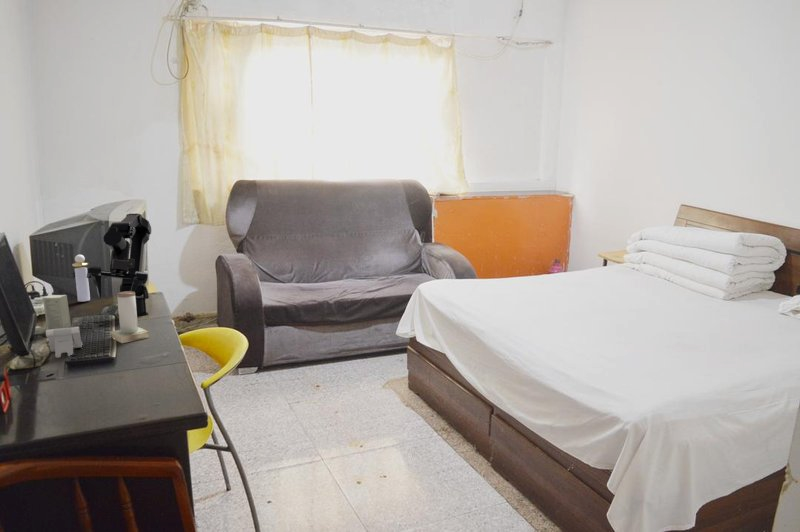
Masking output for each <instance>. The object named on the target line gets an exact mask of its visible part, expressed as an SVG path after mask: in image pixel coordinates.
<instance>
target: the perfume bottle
mask: <svg viewBox="0 0 800 532" xmlns="http://www.w3.org/2000/svg"><path fill="white" fill-rule="evenodd" d="M85 260H86V257H85V256H84V255H83V254H77V255H76V256H74V261H75V263H72V264H71V265H72V267H74V271H73V278H75V284H76V285H75V287H76V296H77V297H76V298H77V302H88V301H90V300H91V293H90V284H89V278H87V271H88V267H85V266H88V265H89V262H85ZM75 267H76V268H75Z"/></svg>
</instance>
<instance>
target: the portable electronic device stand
mask: <svg viewBox="0 0 800 532" xmlns="http://www.w3.org/2000/svg"><path fill="white" fill-rule="evenodd" d="M80 331H81V330H80V326H73V327H72V326H71V328H61V329H51V330H48V329H46V330H45V336H46V338H47V341H48V346H49V350H50V353H55V354H54V355H55V358H61V356H62V354H63V353H64V354H65V353H67V356H68V357H71V356H70V355H72V354H73V355H74V349H73V347H82V345H83V341H82V338H81V333H80ZM83 346H84V345H83Z"/></svg>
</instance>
